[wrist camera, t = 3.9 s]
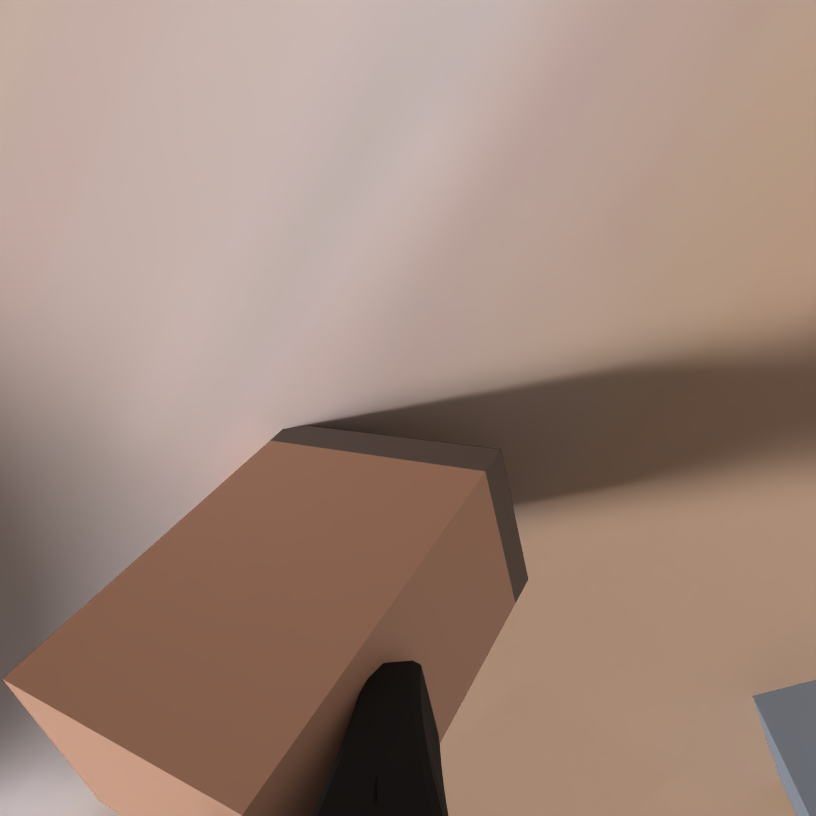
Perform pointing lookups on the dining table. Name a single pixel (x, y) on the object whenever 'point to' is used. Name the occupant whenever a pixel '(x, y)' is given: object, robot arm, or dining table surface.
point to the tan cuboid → (280, 623)
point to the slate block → (792, 740)
